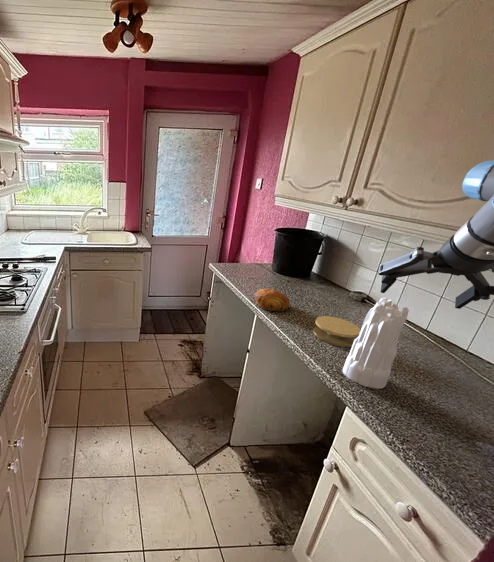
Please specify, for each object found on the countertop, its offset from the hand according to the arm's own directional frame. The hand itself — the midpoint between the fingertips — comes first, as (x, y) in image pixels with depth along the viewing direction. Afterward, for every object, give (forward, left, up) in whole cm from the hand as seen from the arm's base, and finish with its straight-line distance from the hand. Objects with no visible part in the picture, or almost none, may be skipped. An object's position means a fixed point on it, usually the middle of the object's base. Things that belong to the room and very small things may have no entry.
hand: (418, 295), depth 73 cm
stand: (-2, -36, -32) cm, 48 cm away
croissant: (+16, -58, -32) cm, 68 cm away
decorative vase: (-2, -12, -32) cm, 34 cm away
